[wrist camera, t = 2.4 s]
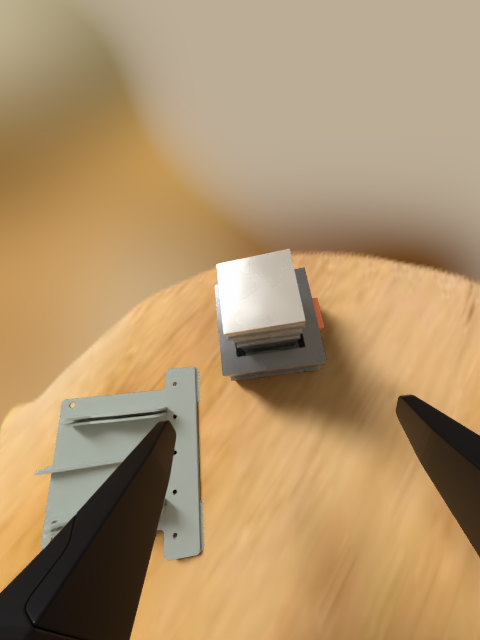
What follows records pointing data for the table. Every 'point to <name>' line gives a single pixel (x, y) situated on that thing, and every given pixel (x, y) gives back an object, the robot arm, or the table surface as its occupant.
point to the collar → (278, 362)
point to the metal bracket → (117, 443)
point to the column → (261, 303)
